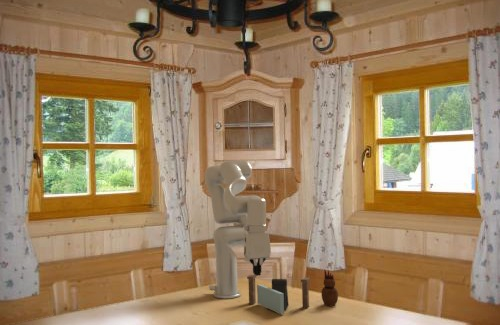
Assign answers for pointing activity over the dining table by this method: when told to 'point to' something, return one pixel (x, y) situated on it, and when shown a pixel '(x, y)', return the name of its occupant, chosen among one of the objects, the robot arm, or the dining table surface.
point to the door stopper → (281, 289)
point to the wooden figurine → (329, 290)
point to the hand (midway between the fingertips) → (257, 274)
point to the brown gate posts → (304, 291)
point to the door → (270, 298)
